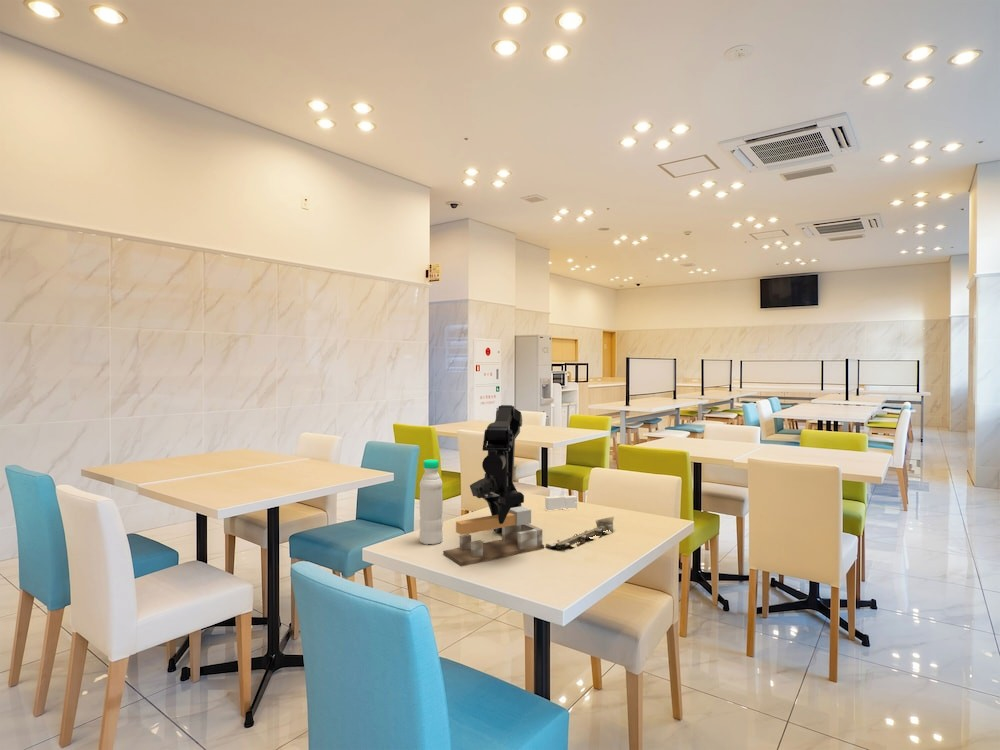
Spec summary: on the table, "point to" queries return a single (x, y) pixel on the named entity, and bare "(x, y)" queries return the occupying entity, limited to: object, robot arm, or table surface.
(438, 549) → the table surface
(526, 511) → the tan bar grey block
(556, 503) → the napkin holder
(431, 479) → the water bottle
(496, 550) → the cable board
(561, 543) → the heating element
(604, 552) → the table surface
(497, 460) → the robot arm
